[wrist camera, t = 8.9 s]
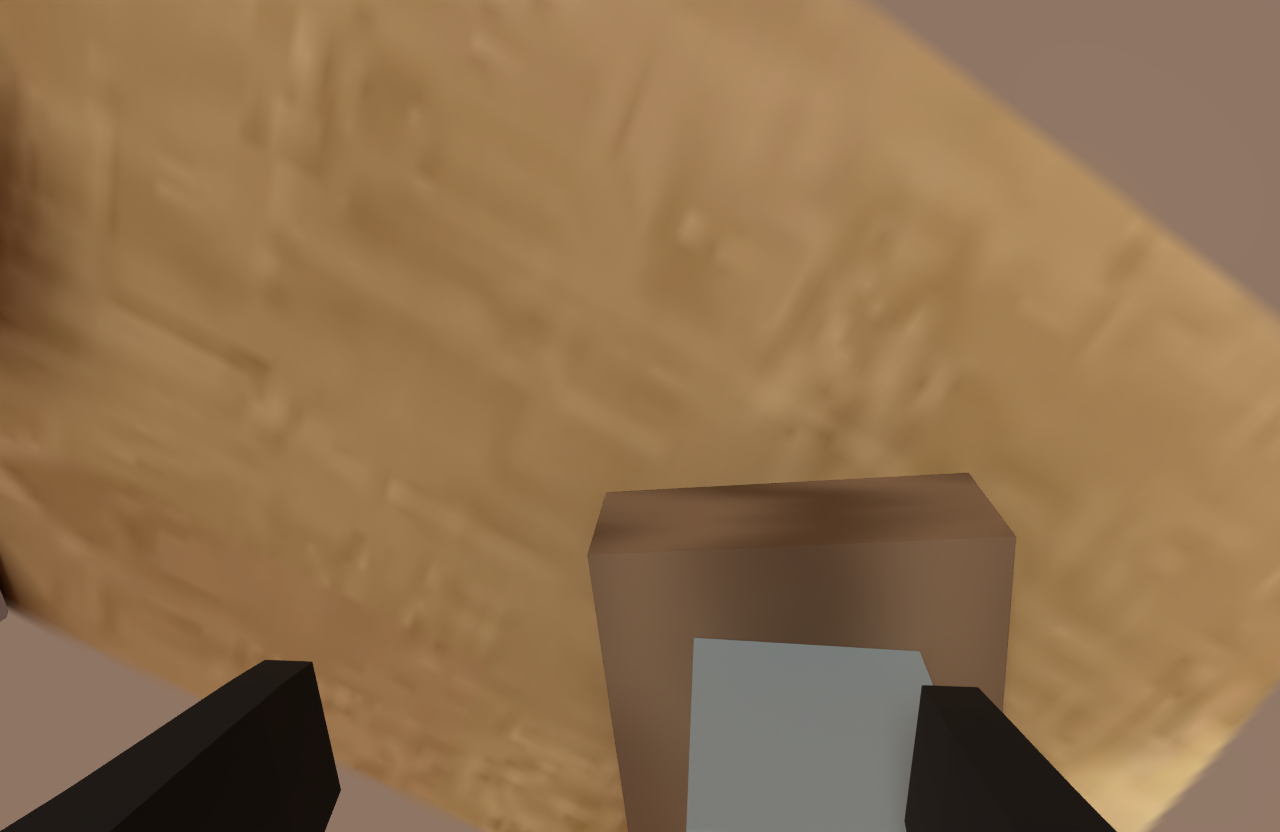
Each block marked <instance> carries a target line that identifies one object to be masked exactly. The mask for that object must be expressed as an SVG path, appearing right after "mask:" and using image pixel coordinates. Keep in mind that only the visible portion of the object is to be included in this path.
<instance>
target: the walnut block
mask: <svg viewBox="0 0 1280 832" xmlns="http://www.w3.org/2000/svg"><path fill="white" fill-rule="evenodd" d="M1015 544H1016V536H1015V534H1014V533H1013V532H1012V530H1011V529H1010V528H1009V526H1008V525H1007V524H1006V522H1005V521H1004V520H1003V518H1002V517H1001V516H1000V514H999V513H998V512H997V510H996V509H995V508H994V506H993V505H992V504H991V502H990V501H989V500H988V498H987V497H986V496H985V494H984V493H983V492H982V490H981V489H980V488H979V486H978V485H977V484H976V482H975V481H974V480H973V478H972V477H971V476H970V474H969V473H956V474H938V475H919V476H901V477H882V478H863V479H845V480H826V481H808V482H789V483H771V484H752V485H733V486H715V487H696V488H678V489H659V490H640V491H622V492H606V495H605V499H604V502H603V505H602V509H601V512H600V515H599V518H598V522H597V525H596V528H595V532H594V535H593V538H592V541H591V545H590V548H589V551H588V555H587V556H588V563H589V569H590V576H591V583H592V590H593V596H594V603H595V610H596V616H597V623H598V630H599V637H600V643H601V650H602V657H603V664H604V670H605V677H606V684H607V690H608V697H609V704H610V711H611V717H612V724H613V731H614V738H615V744H616V751H617V758H618V764H619V771H620V778H621V785H622V791H623V798H624V805H625V812H626V818H627V825H628V832H686V825H687V800H688V774H689V749H690V723H691V698H692V673H693V647H694V638H706V639H722V640H739V641H755V642H772V643H789V644H805V645H822V646H838V647H855V648H872V649H888V650H905V651H920V653H921V656H922V658H923V661H924V663H925V666H926V668H927V671H928V673H929V676H930V679H931V681H932V684H933V685H935V686H961V687H979V689H980V690H981V691H982V692H983V693H984V694H985V695H986V696H987V697H988V698H989V699H990V700H991V701H992V702H993V703H994V704H995V705H996V706H997V707H998V708H999V709H1000V710H1001V712H1003V699H1004V686H1005V673H1006V660H1007V647H1008V635H1009V622H1010V609H1011V596H1012V583H1013V570H1014V557H1015Z"/></svg>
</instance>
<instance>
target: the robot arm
mask: <svg viewBox="0 0 1280 832" xmlns="http://www.w3.org/2000/svg"><path fill="white" fill-rule="evenodd" d="M7 614H8V610H7V606H6V603H5V601H4V598H3V596H2V593H1V591H0V621H2V620H3V619H5V618H6V617H7ZM340 791H341V788H340V784H339V779H338V775H337V770H336V766H335V761H334V757H333V752H332V748H331V743H330V739H329V734H328V730H327V726H326V721H325V717H324V712H323V708H322V703H321V699H320V694H319V690H318V685H317V681H316V676H315V672H314V667H313V663H312V662H306V661H279V660H264V661H263V662H261V663H259V664H257V665H256V666H254V667H252V668H251V669H249V670H247V671H246V672H244V673H242V674H241V675H239V676H238V677H236V678H234V679H233V680H231V681H230V682H228V683H227V684H225V685H224V686H222V687H220V688H219V689H217V690H216V691H214V692H213V693H211V694H210V695H208V696H207V697H205V698H204V699H202V700H201V701H199V702H198V703H196V704H195V705H193V706H192V707H190V708H189V709H187V710H186V711H184V712H183V713H181V714H180V715H178V716H177V717H175V718H174V719H173V720H171V721H169V722H168V723H166V724H165V725H163V726H162V727H160V728H159V729H158V730H156V731H155V732H153V733H151V734H150V735H149V736H147V737H146V738H144V739H143V740H141V741H139V742H138V743H136V744H135V745H133V746H132V747H130V748H129V749H127V750H126V751H124V752H123V753H121V754H120V755H118V756H117V757H115V758H114V759H112V760H111V761H109V762H108V763H106V764H105V765H103V766H102V767H100V768H99V769H97V770H96V771H94V772H93V773H91V774H90V775H88V776H87V777H85V778H84V779H82V780H81V781H79V782H78V783H76V784H75V785H73V786H71V787H70V788H68V789H67V790H65V791H64V792H62V793H61V794H59V795H57V796H56V797H54V798H53V799H51V800H49V801H48V802H46V803H45V804H43V805H41V806H40V807H38V808H37V809H35V810H33V811H32V812H30V813H29V814H27V815H25V816H24V817H22V818H21V819H19V820H17V821H16V822H14V823H13V824H11V825H9V826H8V827H6V828H5V829H3V830H1V831H0V832H325V829H326V827H327V824H328V822H329V819H330V816H331V814H332V811H333V809H334V806H335V804H336V801H337V798H338V796H339V793H340ZM904 822H905V827H906V832H1117V831H1116V830H1115V829H1114V828H1113V827H1112V826H1111V825H1110V824H1109V823H1108V822H1107V821H1106V820H1104V819H1103V818H1102V817H1101V815H1100V814H1099V813H1098V812H1097V811H1096V810H1095V809H1094V808H1093V807H1092V806H1091V805H1090V804H1089V803H1088V802H1087V801H1086V800H1085V799H1084V798H1083V797H1082V796H1081V795H1080V794H1079V793H1078V792H1077V791H1076V790H1075V789H1074V788H1073V787H1072V786H1071V785H1070V783H1069V782H1068V781H1067V780H1066V779H1065V778H1064V777H1063V776H1062V775H1061V774H1060V773H1059V772H1058V771H1057V770H1056V769H1055V768H1054V767H1053V766H1052V765H1051V764H1050V762H1049V761H1048V760H1047V759H1046V758H1045V757H1044V756H1043V755H1042V754H1041V753H1040V752H1039V751H1038V750H1037V749H1036V748H1035V747H1034V746H1033V744H1032V743H1031V742H1030V741H1029V740H1028V739H1027V738H1026V737H1025V736H1024V735H1023V734H1022V733H1021V732H1020V731H1019V730H1018V729H1017V727H1016V726H1015V725H1014V724H1013V723H1012V722H1011V721H1010V720H1009V719H1008V718H1007V717H1006V716H1005V715H1004V714H1003V713H1002V712H1001V710H1000V709H999V708H998V707H997V706H996V705H995V704H994V703H993V702H992V701H991V700H990V699H989V698H988V697H987V696H986V695H985V694H984V693H983V692H982V691H981V690H980V689H979V687H961V686H935V685H922V688H921V695H920V703H919V711H918V719H917V726H916V734H915V742H914V750H913V758H912V765H911V773H910V781H909V789H908V797H907V804H906V812H905V820H904Z"/></svg>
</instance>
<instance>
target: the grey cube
mask: <svg viewBox="0 0 1280 832" xmlns="http://www.w3.org/2000/svg"><path fill="white" fill-rule="evenodd" d="M922 685H933V684H932V681H931V679H930V676H929V673H928V671H927V668H926V666H925V663H924V661H923V658H922V656H921V653H920V651H905V650H888V649H872V648H855V647H838V646H822V645H805V644H789V643H772V642H755V641H739V640H722V639H706V638H694V647H693V673H692V698H691V723H690V749H689V774H688V800H687V825H686V832H906V827H905V822H904V820H905V812H906V804H907V797H908V789H909V781H910V773H911V765H912V758H913V750H914V742H915V734H916V726H917V719H918V711H919V703H920V695H921V688H922Z"/></svg>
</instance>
